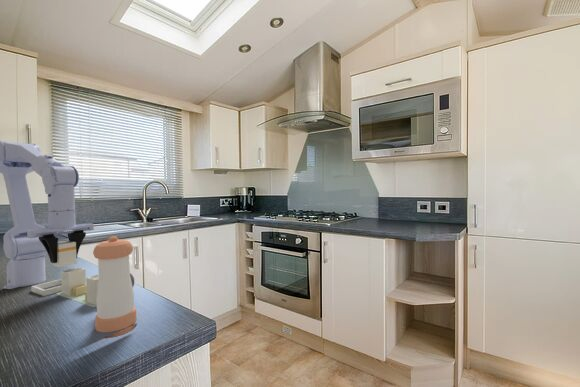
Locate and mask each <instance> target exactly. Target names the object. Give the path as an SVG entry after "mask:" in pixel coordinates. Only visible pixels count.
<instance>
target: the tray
mask: <svg viewBox="0 0 580 387" xmlns="http://www.w3.org/2000/svg"><path fill="white" fill-rule="evenodd" d="M30 287H31V292H32V293H34V294H37V295H39V296H42V297H46V296H50V295H52V294H56V293H60V292H62V282H61V278H60V279H55V280H52V281H48V282H44V283H43V282H42V283H38V284H34V285H30Z"/></svg>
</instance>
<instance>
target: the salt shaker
mask: <svg viewBox="0 0 580 387" xmlns="http://www.w3.org/2000/svg"><path fill="white" fill-rule="evenodd" d="M133 250H134V246H133V244H132V243H131V242H130V240H127V239H121V238H120V239H119V238H118V236H113V235H112V236H110V237H109V238H108V240H104V241H102V242H99V243H98V244H96V245H95V246H94V249H93V252H92V254H93V257H94V258H95V259H98V262H97V263H98V275H99V283H98V290H97V298H96V303H97V307H96V312H97V313H96V314H95V317H94V319H95V320H94V323H95V324H94V326H95V327H94V328H95V331H96V332H99V333H111V332H115V333H112V334H110V335H107V336H105V337H104V339H109V338H115V337H119V336H122V335H126V334H127V333H131V331H133V330H134V329H136V327H137V324H138V323H136V321H137V320H138V319H137V309H136V308H137V307H136V306H135V292H134V286H133V287H132V282H131V278H130V273H131V268H130V267H131V266H130V255H131V254H132V253H133ZM134 323H135V324H134Z"/></svg>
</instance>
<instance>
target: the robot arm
mask: <svg viewBox="0 0 580 387" xmlns="http://www.w3.org/2000/svg"><path fill="white" fill-rule="evenodd" d="M33 172H35V173H36V174H38V176H39V177H41V181H42V184H43V186H44V193H45V195H46V194H47V212H48V214H47V215H48V227H45V226H44V225H42V224H38V223H37V222H36V219H35V215H34V210H33V203H32V200H31V195H30V191H29V185H28V181H27V177H26V175H27V174H30V173H33ZM0 174H2V176H3V180H4V183H5V188H6V193H7V198H8V203H9V208H10V213H11V216H12V223H13V227H12V228H10V229H9V230H7V231H6V232H5V233H4V235H3V236H2V238H3V245H2V246H3V249H2V250H3V253H4V255H5V256H6V258H8V259H10V260H9V261H8V262H7V264H6V283H7V284H6V285H4V286H3V289H6V290H11V289H16V288H19V287H27V286H29V287H30V286H35V285H39V284H42V283H43V282H44V283H45V281H46V258H45V256H48V258H49V260H50V263H57V244H58V241H59V238H58V237H56V236H57V235H65V234H67V239H68V241H73V242H76V259H78V255H79V251H80V247H81V245H82V244H83V241H84V239H85V238H86V235H87V232H91V231H94V223H91V222H90V223H80V224H77V222H76V201H75V200H76V199H75V198H76V197H75V187H77V186H78V183H79V181H80V175H79V170H78V169H77V168H76V167H75V166H73V165H69V166H65V165H64V164H62V162H61V161H58V160H57V159H55V158H54V156H53V155H52V154H43V153H42V150H41V147H40V145H38V144H37V143H24V142H14V141H5V140H4V141H3V140H0Z"/></svg>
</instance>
